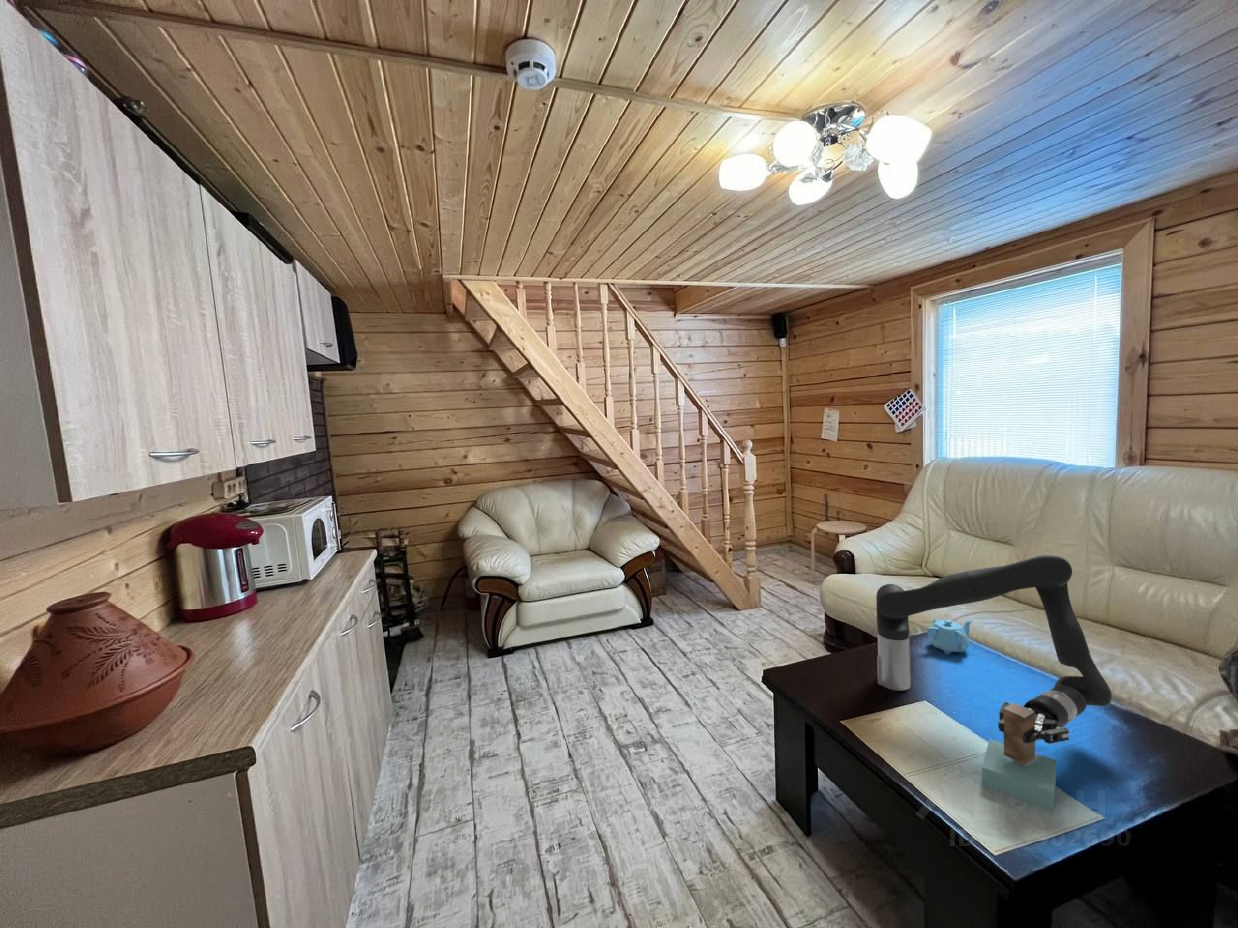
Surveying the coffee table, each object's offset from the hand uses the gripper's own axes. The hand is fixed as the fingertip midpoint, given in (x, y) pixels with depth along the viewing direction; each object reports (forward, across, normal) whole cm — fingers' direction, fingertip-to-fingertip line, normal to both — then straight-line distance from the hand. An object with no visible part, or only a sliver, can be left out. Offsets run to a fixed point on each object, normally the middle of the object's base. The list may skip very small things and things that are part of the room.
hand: (1012, 733), depth 118 cm
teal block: (-3, 0, +14) cm, 14 cm away
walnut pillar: (-3, 0, +7) cm, 8 cm away
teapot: (-55, -48, +14) cm, 74 cm away
